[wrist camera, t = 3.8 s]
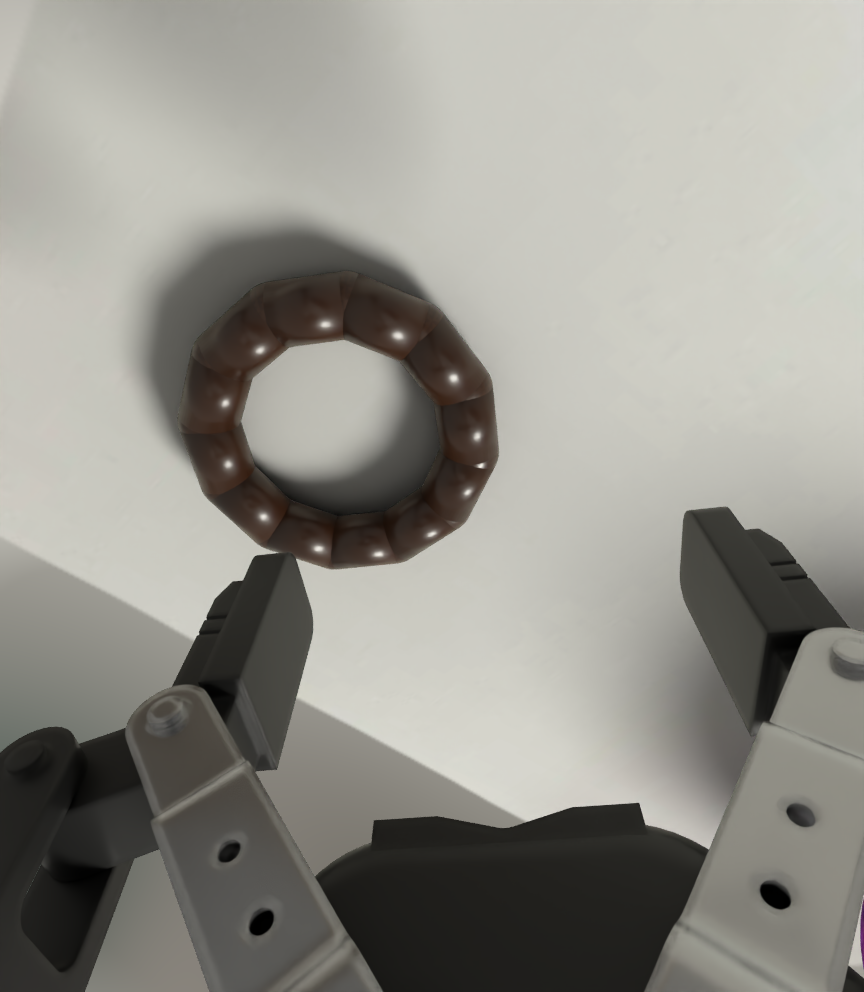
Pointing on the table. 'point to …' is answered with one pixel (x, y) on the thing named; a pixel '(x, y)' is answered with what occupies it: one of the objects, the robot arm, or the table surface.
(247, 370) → the ring
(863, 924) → the decorative orb
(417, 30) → the table surface
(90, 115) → the table surface
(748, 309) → the table surface
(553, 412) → the table surface
